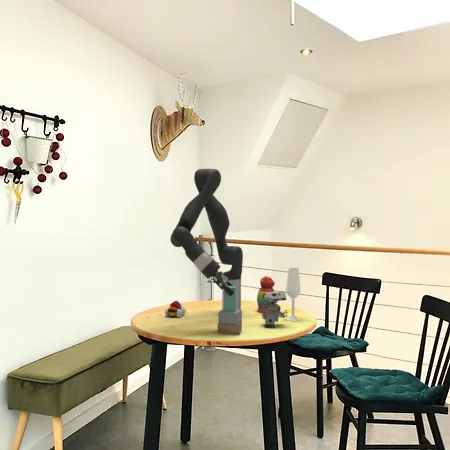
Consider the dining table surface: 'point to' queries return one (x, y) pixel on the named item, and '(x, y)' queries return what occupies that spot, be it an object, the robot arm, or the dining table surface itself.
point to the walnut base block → (230, 328)
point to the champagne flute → (293, 289)
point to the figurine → (273, 308)
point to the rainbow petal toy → (175, 310)
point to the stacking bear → (264, 291)
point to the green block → (230, 300)
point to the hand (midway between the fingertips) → (233, 293)
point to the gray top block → (230, 317)
